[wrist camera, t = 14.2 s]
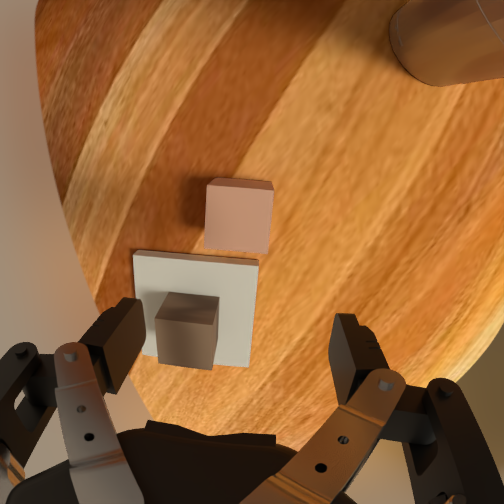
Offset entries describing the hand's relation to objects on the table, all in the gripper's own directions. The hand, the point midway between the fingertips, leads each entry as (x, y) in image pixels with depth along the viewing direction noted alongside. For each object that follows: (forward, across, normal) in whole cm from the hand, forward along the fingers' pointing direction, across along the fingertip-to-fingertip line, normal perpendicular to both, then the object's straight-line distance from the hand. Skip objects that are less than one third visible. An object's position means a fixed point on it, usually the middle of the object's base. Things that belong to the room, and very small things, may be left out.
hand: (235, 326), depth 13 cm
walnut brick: (+16, +6, +10) cm, 19 cm away
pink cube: (+18, +1, -1) cm, 18 cm away
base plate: (+17, +6, +10) cm, 21 cm away
